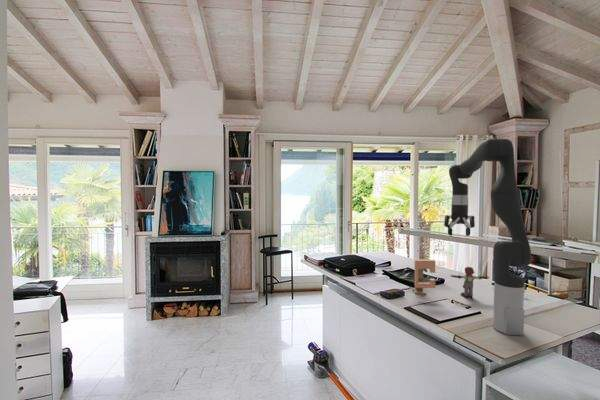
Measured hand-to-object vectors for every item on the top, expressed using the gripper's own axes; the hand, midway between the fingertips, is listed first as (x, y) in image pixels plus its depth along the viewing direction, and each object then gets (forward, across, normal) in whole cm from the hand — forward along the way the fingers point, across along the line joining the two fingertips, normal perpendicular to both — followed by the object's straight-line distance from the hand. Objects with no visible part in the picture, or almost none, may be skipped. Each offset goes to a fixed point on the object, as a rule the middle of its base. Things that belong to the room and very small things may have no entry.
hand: (458, 235), depth 158 cm
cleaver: (+29, +26, 0) cm, 39 cm away
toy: (+29, +1, -8) cm, 30 cm away
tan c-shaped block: (+23, -21, -12) cm, 34 cm away
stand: (+29, -21, -7) cm, 36 cm away
